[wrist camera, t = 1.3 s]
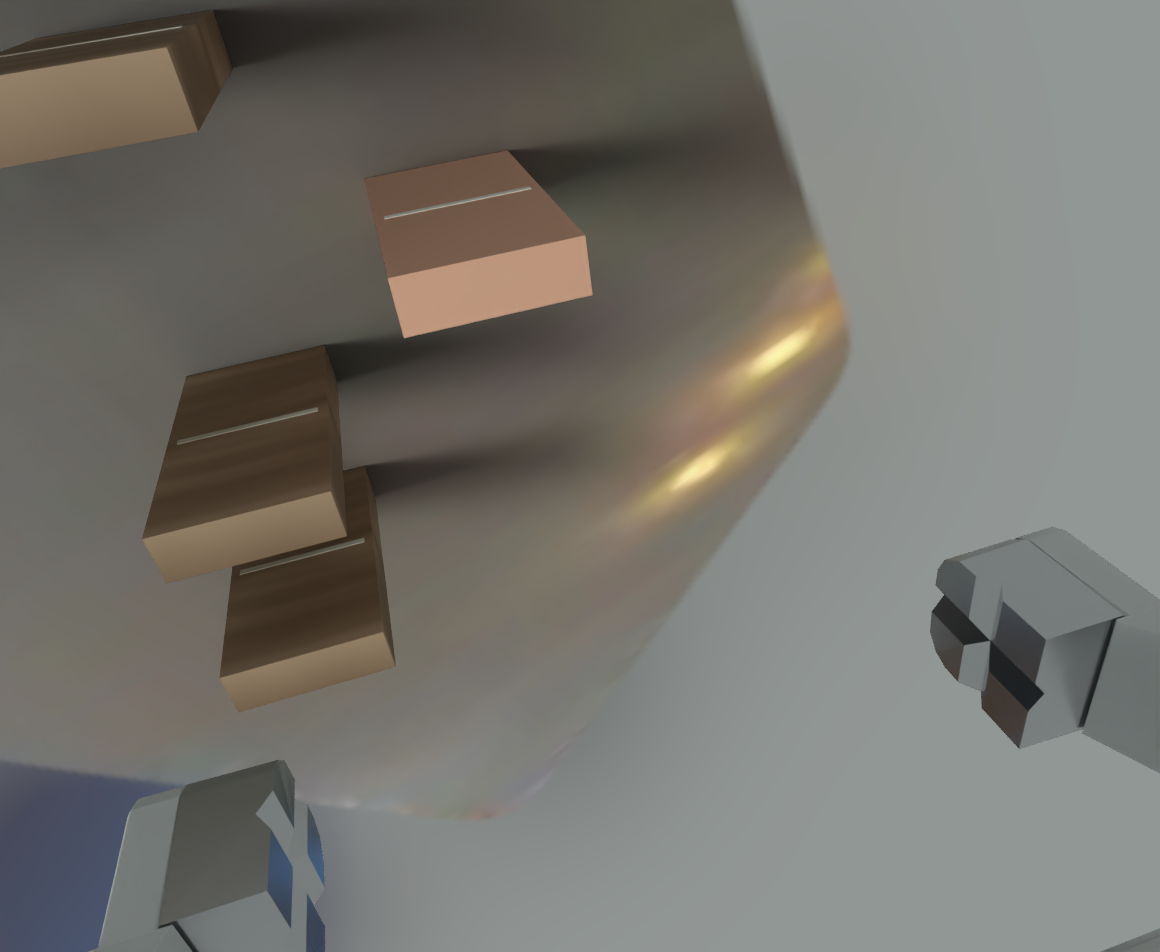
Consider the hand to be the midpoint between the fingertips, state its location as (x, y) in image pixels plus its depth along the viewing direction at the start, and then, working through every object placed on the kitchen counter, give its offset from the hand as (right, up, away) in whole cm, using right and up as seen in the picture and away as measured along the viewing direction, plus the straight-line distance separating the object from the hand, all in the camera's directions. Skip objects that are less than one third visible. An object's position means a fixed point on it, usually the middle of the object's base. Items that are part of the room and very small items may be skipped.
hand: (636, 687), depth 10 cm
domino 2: (-12, +6, +21) cm, 25 cm away
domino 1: (-14, +15, +15) cm, 25 cm away
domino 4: (-5, +13, +19) cm, 23 cm away
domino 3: (-12, +2, +24) cm, 27 cm away
